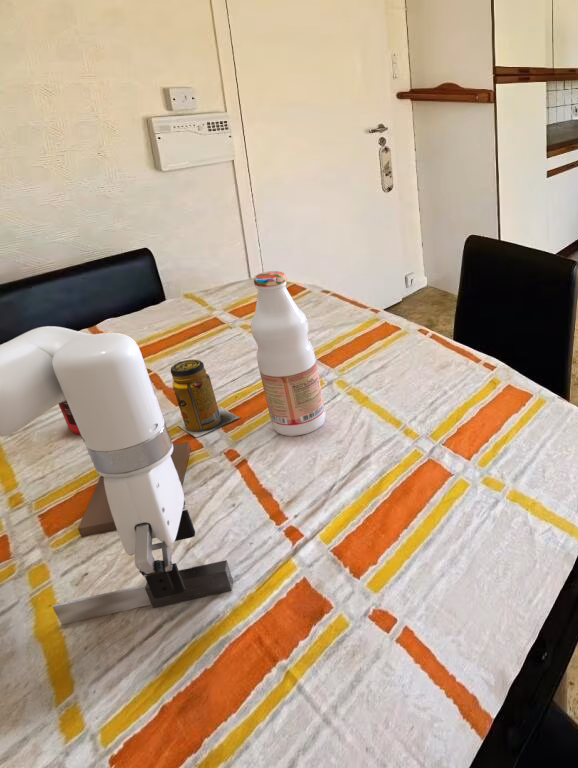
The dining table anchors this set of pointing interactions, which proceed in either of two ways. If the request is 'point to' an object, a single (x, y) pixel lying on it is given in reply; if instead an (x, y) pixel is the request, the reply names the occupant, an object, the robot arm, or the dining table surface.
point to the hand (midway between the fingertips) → (176, 564)
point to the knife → (149, 594)
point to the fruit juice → (286, 358)
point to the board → (98, 507)
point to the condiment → (197, 399)
